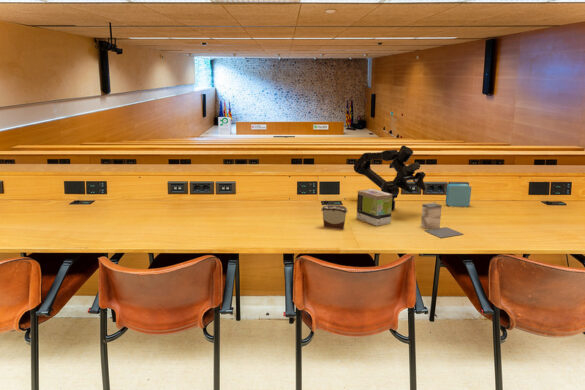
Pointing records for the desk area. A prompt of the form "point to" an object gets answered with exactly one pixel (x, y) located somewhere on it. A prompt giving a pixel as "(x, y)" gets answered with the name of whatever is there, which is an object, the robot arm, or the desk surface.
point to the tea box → (374, 206)
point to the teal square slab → (458, 195)
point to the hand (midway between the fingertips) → (418, 191)
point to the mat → (443, 232)
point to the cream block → (431, 216)
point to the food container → (334, 216)
